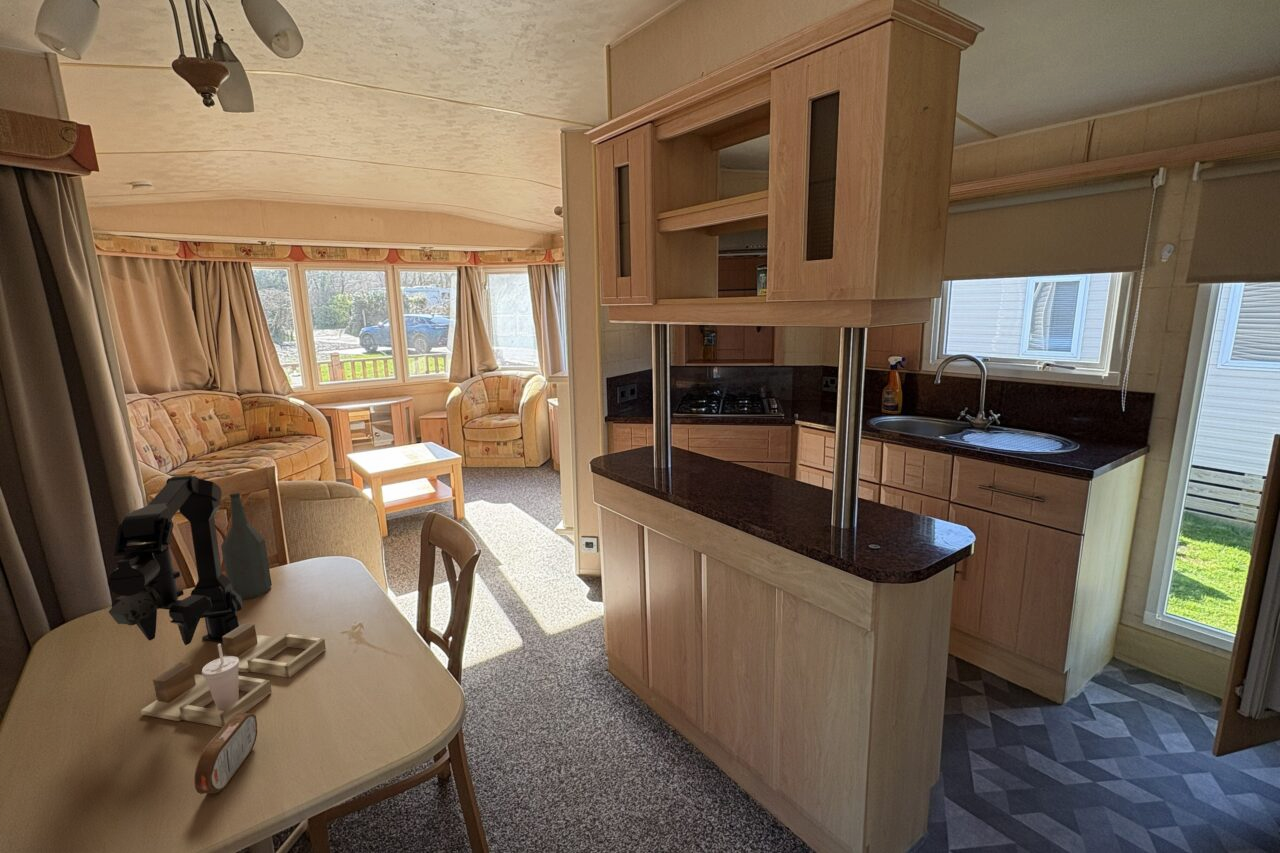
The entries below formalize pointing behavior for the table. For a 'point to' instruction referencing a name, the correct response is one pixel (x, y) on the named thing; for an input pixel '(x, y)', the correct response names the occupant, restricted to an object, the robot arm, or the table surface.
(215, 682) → the smoothie
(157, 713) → the cream rimmed tray
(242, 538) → the bottle
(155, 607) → the robot arm
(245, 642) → the hollow rectangular frame
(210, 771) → the tin
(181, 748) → the table surface
